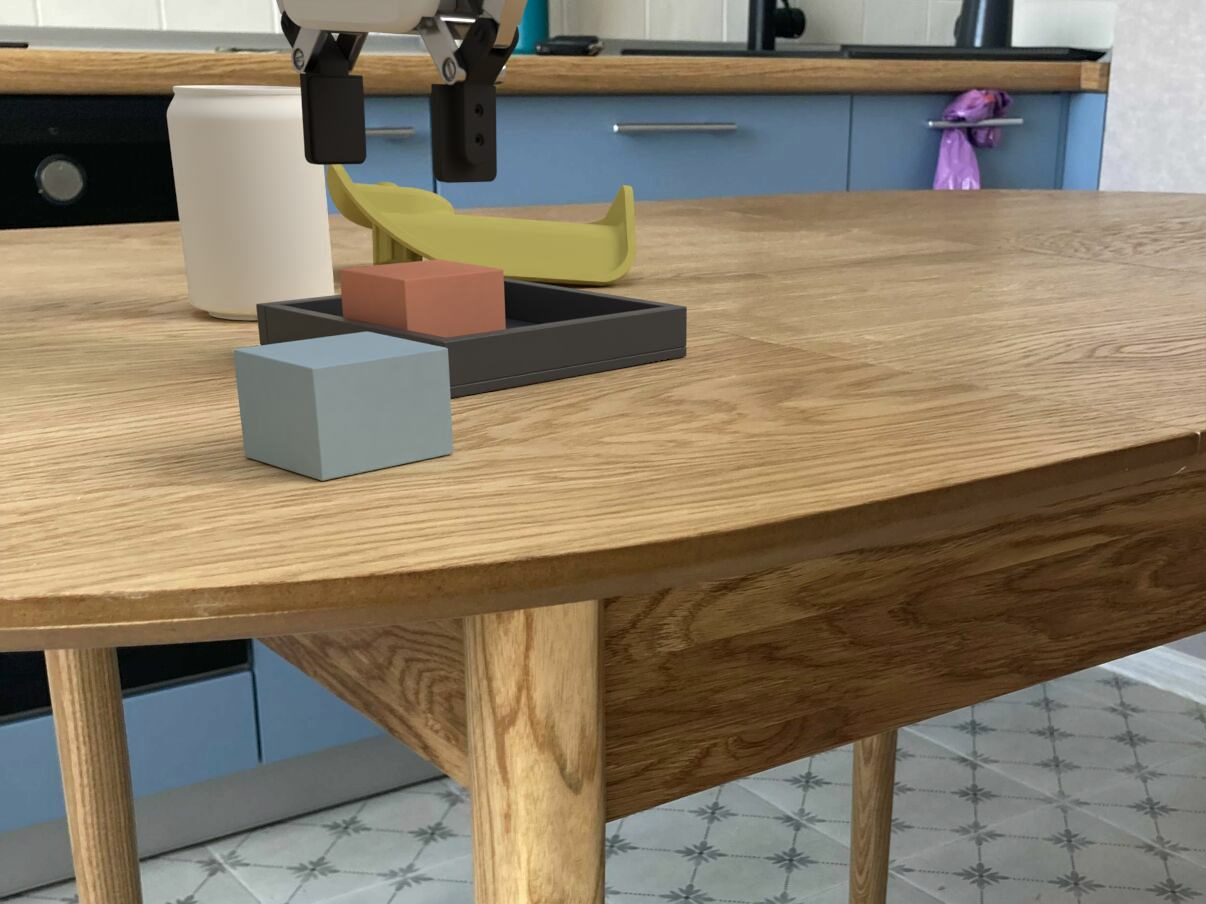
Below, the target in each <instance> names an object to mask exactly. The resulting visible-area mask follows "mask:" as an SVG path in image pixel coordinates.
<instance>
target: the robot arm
mask: <svg viewBox="0 0 1206 904" xmlns="http://www.w3.org/2000/svg"><path fill="white" fill-rule="evenodd" d="M275 1H276V5H277V8H278V11H279V14H280V15H281V16H280V27H281V31H282V33H283V35H284V37H285V38H286V41H287V42H288V44H289V46H290V47H291V49H292V50H291V54H290V60H291V65H292V67H293V69H294V71H295V72H296V73H297V74H299V82H300V83H299V85H300V86H299V87H301V103H302V120H303V136H304V153H305V159H306V161H307V162H308V163H310V164H316V165H324V166H325V165H326V166H327V165H335V164H341V165H362V164H364V163H365V161H366V159H367V137H366V135H367V134H366V116H365V115H366V114H365V113H366V112H365V92H364V88H365V87H364V77H363V75H360V74H351V73H352V72H353V71H354V68H355V65H356V64H357V61H358V58H359V56H360V54H361V52H362V50H363V47H364V45H365V43H366V40H367V38H368V36H369V34H370V33H375V34H377V33H379V34H391V35H407V36H408V35H409V36H420V37H421V39H422V42H423V44H424V46H425V47H426V49H427V52H428V54H429V55H430V57H431V60H432V61H433V64H434V66H435V67H436V70H437V71H438V73H439V76H440V78H441V79H442V81H443V82H444V83H431V84H430V85H431V91H430V92H431V93H430V100H431V101H430V102H431V103H430V106H431V142H432V143H431V144H432V172H433V176H434V178H435V180H436V181H438V182H440V183H446V184H455V183H456V184H457V183H459V184H461V183H489V182H490V183H491V182H493V181H494V180H495V179H496V178H497V174H498V157H497V152H498V150H497V149H498V148H497V87H500V86H501V87H502V85H503V84H504V83H505V81H506V79H507V78H506V77H507V66H506V64H507V63H508V61H509V59H510V57H511V56H512V54H513V53H514V52H515V50H516V48H517V46H518V44H519V40H520V30H519V26H520V25H521V24H522V23H521V22H522V20H523V16H524V13H525V9H526V6H527V3H528V0H275ZM334 34H335V35H336V34H338V35H337V36H336V37H337V38H336V39H335V36H334ZM456 41H461V43H460V45H459V46H458V44H457V42H456Z"/></svg>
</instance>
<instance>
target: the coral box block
mask: <svg viewBox="0 0 1206 904" xmlns="http://www.w3.org/2000/svg"><path fill="white" fill-rule="evenodd" d="M339 283H340V293H341V294H340V295H342V308H343V317H345V318H350V319H355V320H360V321H365V322H370V323H375V324H380V325H385V326H390V327H395V328H400V329H405V330H410V331H415V332H420V333H425V334H430V335H435V336H440V337H445V338H447V337H454V336H461V335H468V334H475V333H483V332H490V331H497V330H504V329H506V325H505V300H504V274H503V269H498V268H492V267H485V266H479V265H472V264H465V263H459V262H452V261H446V260H439V259H437V260H428V259H426V260H423V261H417V262H406V263H396V264H386V265H376V266H373V265H368V266H367V265H366V266H358V267H346V268H340V269H339Z"/></svg>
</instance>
